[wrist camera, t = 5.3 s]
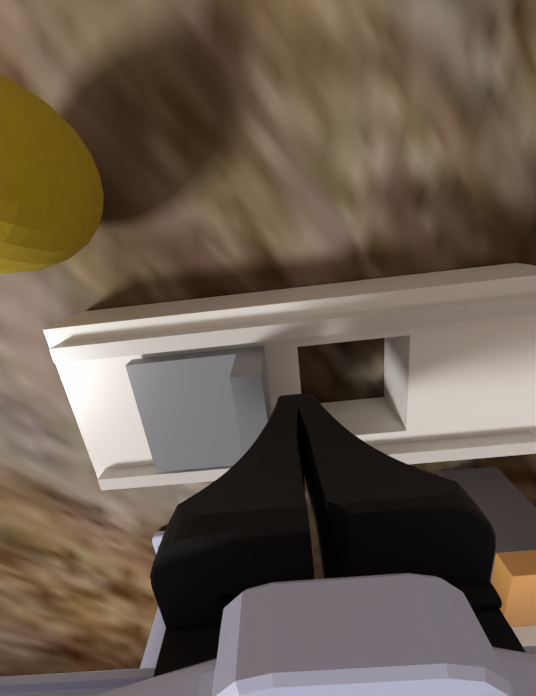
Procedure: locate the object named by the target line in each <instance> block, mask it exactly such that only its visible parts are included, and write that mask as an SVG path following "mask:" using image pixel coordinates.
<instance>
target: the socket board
mask: <svg viewBox="0 0 536 696" xmlns="http://www.w3.org/2000/svg"><path fill="white" fill-rule="evenodd" d="M43 332H44V334H45V337H46V340H47V342H48V345H49V348H50V349H49V351H50V353H51V356H52V359H53V361H54V364H56V367H57V369H58V372H59V375H60V377H61V380H62V383H63V386H64V388H65V391H66V394H67V396H68V399H69V402H70V404H71V407H72V410H73V412H74V415H75V418H76V421H77V423H78V426H79V429H80V431H81V434H82V437H83V439H84V442H85V445H86V448H87V450H88V453H89V456H90V458H91V461H92V464H93V466H94V469H95V472H96V475H97V477H98V482H99V485H100V488H101V490H112V489H124V488H136V487H147V486H159V485H171V484H183V483H195V482H206V481H216V480H217V479H218V478H219V477H221V476H222V475H223V474H224V473H226V472H227V471H228V470H229V469H230V468H231V467H232V466H222V467H210V468H199V469H187V470H176V471H164V472H156V470H155V466H154V463H153V459H152V456H151V452H150V449H149V445H148V442H147V438H146V435H145V432H144V428H143V425H142V421H141V418H140V414H139V411H138V407H137V404H136V401H135V397H134V394H133V390H132V387H131V383H130V380H129V376H128V373H127V369H126V366H125V365H126V364H127V363H129V362H130V361H131V360H132V359H141V358H150V357H160V356H170V355H179V354H189V353H198V352H208V351H218V350H227V349H237V348H246V347H256V346H263V347H264V355H265V363H266V371H267V379H268V386H269V394H270V402H271V410H272V412H273V410H274V408H275V406H276V403H277V399H278V398H279V397H280V396H282V395H293V394H301V384H300V373H299V361H298V350H297V347H300V346H310V345H320V344H329V343H339V342H349V341H359V340H368V339H378V338H384V397H379V398H369V399H358V400H348V401H337V402H327V403H321V405H322V406H323V407H324V408H325V409H326V410H327V411H328V412H329V413H330V414H331V415H332V416H333V417H334V418H335V419H336V420H337V421H338V422H339V423H340V424H341V425H343V426H344V427H345V428H346V429H347V430H349V431H350V432H351V433H352V434H354V435H355V436H357V437H358V438H360V439H361V440H363V441H364V442H366V443H367V444H369V445H370V446H372V447H374V448H375V449H377V450H379V451H381V452H383V453H385V454H387V455H388V456H390V457H392V458H395V459H397V460H399V461H401V462H403V463H406V464H419V463H431V462H442V461H454V460H466V459H478V458H490V457H501V456H513V455H525V454H536V266H535V265H528V264H521V263H510V264H501V265H493V266H484V267H475V268H466V269H457V270H448V271H439V272H430V273H421V274H412V275H403V276H395V277H386V278H377V279H368V280H359V281H350V282H341V283H332V284H323V285H314V286H305V287H296V288H288V289H279V290H270V291H261V292H252V293H243V294H234V295H225V296H216V297H207V298H198V299H189V300H181V301H172V302H163V303H154V304H145V305H136V306H127V307H118V308H109V309H100V310H91V311H84V312H82V313H79V314H77V315H75V316H73V317H70V318H68V319H66V320H64V321H61V322H59V323H57V324H55V325H52V326H50V327H48V328H45V329H43Z"/></svg>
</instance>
